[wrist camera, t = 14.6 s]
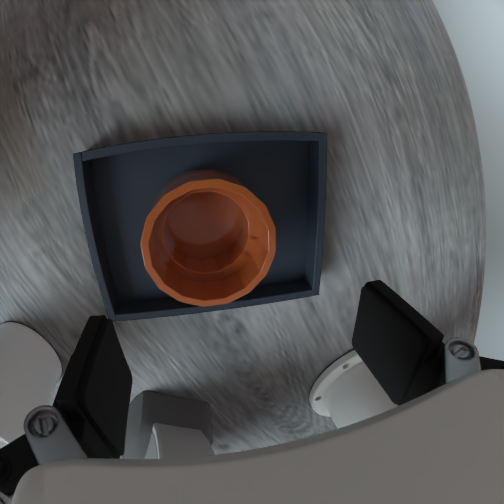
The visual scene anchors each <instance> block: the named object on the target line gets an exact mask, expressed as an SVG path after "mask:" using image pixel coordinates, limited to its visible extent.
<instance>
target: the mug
mask: <svg viewBox="0 0 504 504" xmlns="http://www.w3.org/2000/svg"><path fill="white" fill-rule="evenodd" d="M61 373H62V367H61V363H60V360H59V358H58V356H57V354H56V352H55V351H54V349H53V348H52V347H51V345H50V344H49V343H48V342H47V341H46V340H45V339H44V338H43V337H42V336H40V335H39V334H38V333H37V332H35V331H34V330H32V329H30V328H29V327H27V326H24V325H22V324H19V323H15V322H7V323H3V324H1V325H0V448H2V447H4V446H5V445H7V444H9V443H10V442H12V441H14V440H15V439H17V438H18V437H20V436H22V435H23V434H25V432H24V427H23V426H24V420H25V418H26V416H27V414H28V413H29V412H30V411H31V410H33V409H34V408H35V407H38V406H41V405H49V403H50V400H51V396H52V393H53V390H54V388H55V385H56V383H57V381H58V380H59V379H60V376H61Z"/></svg>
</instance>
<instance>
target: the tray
mask: <svg viewBox="0 0 504 504" xmlns="http://www.w3.org/2000/svg"><path fill="white" fill-rule="evenodd" d="M73 158H74V167H75V175H76V183H77V189H78V196H79V202H80V208H81V213H82V218H83V224H84V228H85V233H86V238H87V242H88V247H89V251H90V255H91V259H92V263H93V267H94V271H95V274H96V278H97V281H98V285H99V288H100V292H101V295H102V298H103V301H104V305H105V308H106V311H107V314H108V317H109V319H111V320H112V321H125V320H137V319H147V318H157V317H167V316H176V315H185V314H194V313H202V312H210V311H218V310H225V309H233V308H240V307H247V306H254V305H260V304H267V303H273V302H279V301H286V300H292V299H298V298H303V297H309V296H314V295H319V287H320V276H321V264H322V252H323V238H324V221H325V201H326V172H327V133H325V132H295V131H261V132H231V133H213V134H200V135H188V136H178V137H169V138H161V139H153V140H145V141H138V142H132V143H126V144H120V145H114V146H108V147H103V148H98V149H93V150H88V151H83V152H79V153H74V154H73ZM200 169H215V170H218V171H221V172H224V173H227V174H230V175H232V176H234V177H235V178H236V179H237V180H238V181H240V182H241V183H242V184H243V185H244V186H245V187H246V188H248V189H249V190H250V191H251V192H252V193H253V194H254V195H255V196H256V197H257V198H259V199H260V200H261V201H262V202H263V203H264V204H265V205H266V207H267V209H268V211H269V214H270V216H271V218H272V220H273V223H274V225H275V228H276V253H275V256H274V258H273V261H272V263H271V265H270V268H269V270H268V272H267V275H266V276H265V277H264V278H263V279H262V280H261V281H260V282H259V283H258V284H257V285H256V287H255V288H254V289H253V290H252V291H251V292H249V293H248V294H246V295H244V296H242V297H240V298H238V299H236V300H234V301H232V302H230V303H227V304H222V305H214V306H206V307H204V306H203V307H202V306H197V305H192V304H188V303H183V302H180V301H178V300H176V299H175V298H173V297H171V296H170V295H168V294H167V293H165V292H164V291H162V290H161V289H160V288H158V286H157V285H156V283H155V282H154V280H153V279H152V278H151V276H150V275H149V273H148V272H147V270H146V269H145V266H144V261H143V255H142V250H141V245H140V244H141V238H142V233H143V229H144V225H145V221H146V218H147V215H148V213H149V211H150V209H151V207H152V204H153V202H154V200H155V198H156V197H157V195H158V194H159V193H160V192H161V190H162V189H163V188H164V187H165V185H166V184H167V183H168V182H169V181H170V180H172V179H174V178H176V177H178V176H179V175H181V174H183V173H185V172H187V171H190V170H200Z"/></svg>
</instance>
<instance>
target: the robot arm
mask: <svg viewBox="0 0 504 504" xmlns="http://www.w3.org/2000/svg"><path fill="white" fill-rule="evenodd" d="M443 338H444V335H443V334H442V333H441V332H440V331H439V330H438V329H436V328H435V327H434V326H433V325H432V324H431V323H430V322H429V321H428V320H426V319H425V318H424V317H423V316H422V315H421V314H420V313H419V312H417V311H416V310H415V309H414V308H413V307H412V306H411V305H409V304H408V303H407V302H406V301H405V300H404V299H402V298H401V297H400V296H399V295H398V294H397V293H395V292H394V291H393V290H392V289H391V288H389V287H388V286H387V285H386V284H385V283H383V282H382V281H381V280H376V281H371V282H367V283H366V284H365V286H364V287H362V289H361V295H360V301H359V306H358V312H357V318H356V323H355V328H354V333H353V338H352V346H353V348H354V350H353V351H351V352H349V353H347V354H346V355H344V356H342V357H341V358H339V359H338V360H337V361H335V362H334V363H333V364H331V365H330V366H329V367H328V368H327V369H326V370H325V371H324V372H323V373H322V374H321V375H320V376H319V378H318V379H317V380H316V382H315V383H314V385H313V387H312V389H311V391H310V395H309V402H310V404H311V406H312V408H313V410H314V411H315V412H316V413H317V414H319V415H322V416H330V417H332V419H333V421H334V423H335V425H336V427H337V429H335V430H332V431H329V432H325V433H322V434H319V435H315V436H311V437H308V438H304V439H300V440H296V441H292V442H287V443H283V444H279V445H274V446H269V447H264V448H258V449H253V450H247V451H241V452H234V453H227V454H219V455H210V456H200V457H187V458H167V459H120V455H121V456H123V455H124V450H125V438H126V428H127V419H128V410H129V402H130V395H131V387H132V374H131V371H130V369H129V366H128V364H127V361H126V359H125V356H124V354H123V351H122V348H121V346H120V343H119V340H118V337H117V334H116V331H115V328H114V325H113V323H112V320H111V319H107V317H106V316H105V315H101V316H90V317H89V319H88V321H87V323H86V325H85V328H84V330H83V332H82V334H81V337H80V339H79V341H78V343H77V346H76V348H75V351H74V353H73V354H72V356H71V358H70V360H69V363H68V365H67V368H66V370H65V373H64V376H63V378H62V381H61V384H60V386H59V389H58V392H57V395H56V397H55V400H54V403H53V406H49V405H41V406H38V407H35V408H34V409H33V410H31V411H30V412H29V413H28V414H27V416H26V418H25V420H24V426H23V427H24V432H25V434H23V435H22V436H20V437H18V438H17V439H15V440H14V441H12V442H10V443H9V444H7V445H5V446H4V447H2V448H0V504H504V361H501V360H495V359H489V358H485V357H480V356H479V354H478V350H477V348H476V346H475V345H474V344H473V343H472V342H470V341H468V340H466V339H464V338H459V337H454V338H450V339H449V340H447V342H446V343H445V344H444V343H443V342H442V340H443Z"/></svg>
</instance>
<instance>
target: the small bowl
mask: <svg viewBox="0 0 504 504" xmlns="http://www.w3.org/2000/svg"><path fill="white" fill-rule="evenodd" d="M140 245H141V250H142V255H143V261H144V266H145V269H146V270H147V272H148V273H149V275H150V276H151V278H152V279H153V280H154V282H155V283H156V285H157V286H158V288H160V289H161V290H162V291H164V292H165V293H167V294H168V295H170V296H171V297H173V298H175V299H176V300H178V301H180V302H183V303H188V304H192V305H197V306H202V307H203V306H204V307H206V306H214V305H222V304H227V303H230V302H232V301H234V300H236V299H238V298H240V297H242V296H244V295H246V294H248V293H249V292H251V291H252V290H253V289H254V288H255V287H256V285H257V284H258V283H259V282H260V281H261V280H262V279H263V278H264V277H265V276H266V275H267V272H268V270H269V268H270V265H271V263H272V261H273V258H274V256H275V253H276V228H275V225H274V223H273V220H272V218H271V216H270V214H269V211H268V209H267V207H266V205H265V204H264V203H263V202H262V201H261V200H260V199H259V198H257V197H256V196H255V195H254V194H253V193H252V192H251V191H250V190H249V189H248V188H246V187H245V186H244V185H243V184H242V183H241V182H240V181H238V180H237V179H236V178H235V177H234V176H232V175H230V174H227V173H224V172H221V171H218V170H215V169H200V170H190V171H187V172H185V173H183V174H181V175H179V176H178V177H176V178H174V179H172V180H170V181H169V182H168V183H167V184H166V185H165V187H164V188H163V189H162V190H161V192H160V193H159V194H158V195H157V197H156V198H155V200H154V202H153V204H152V207H151V209H150V211H149V213H148V215H147V218H146V221H145V225H144V229H143V233H142V238H141V244H140Z"/></svg>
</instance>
